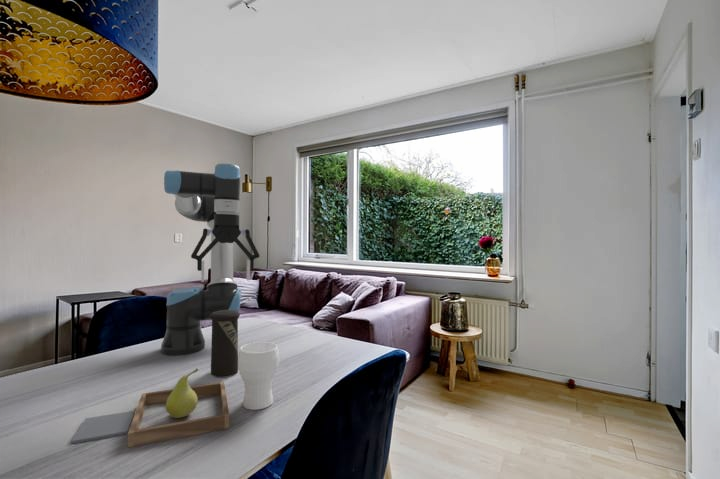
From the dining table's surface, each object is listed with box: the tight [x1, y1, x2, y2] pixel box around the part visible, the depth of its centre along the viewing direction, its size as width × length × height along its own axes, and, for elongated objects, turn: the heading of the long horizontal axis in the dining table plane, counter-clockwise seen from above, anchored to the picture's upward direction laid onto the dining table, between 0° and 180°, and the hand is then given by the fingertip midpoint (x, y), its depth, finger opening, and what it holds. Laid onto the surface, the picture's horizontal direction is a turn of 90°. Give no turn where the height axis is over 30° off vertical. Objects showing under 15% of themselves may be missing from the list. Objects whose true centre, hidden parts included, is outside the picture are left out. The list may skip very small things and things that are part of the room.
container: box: [210, 310, 241, 378], centre depth 115 cm, size 9×9×20 cm
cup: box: [238, 341, 280, 411], centre depth 95 cm, size 11×11×15 cm
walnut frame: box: [127, 381, 230, 448], centre depth 88 cm, size 20×20×3 cm
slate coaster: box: [71, 410, 136, 444], centre depth 82 cm, size 10×10×1 cm
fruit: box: [165, 368, 199, 419], centre depth 88 cm, size 7×8×12 cm
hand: (225, 280), depth 114 cm, fingers open, 13 cm apart
